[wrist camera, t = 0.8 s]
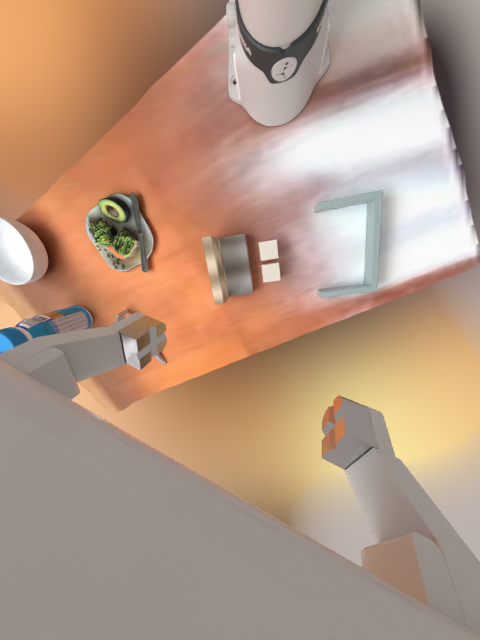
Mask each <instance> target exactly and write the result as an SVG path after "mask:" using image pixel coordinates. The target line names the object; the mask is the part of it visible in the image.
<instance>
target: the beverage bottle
mask: <svg viewBox="0 0 480 640" xmlns="http://www.w3.org/2000/svg"><path fill="white" fill-rule="evenodd" d="M92 324H93V318H92V316H91V314H90V312H89V311H88V310H87V309H85V308H84V307H82V306H72V307H69V308H65V309H61V310H58V311H54V312H50V313H46V314H41V315H37V316H35V317H33V318H29V319H25V320H23V321H21V322H20V323H18V324H17V325H16V326H15V327H9V328H5V329H1V330H0V354H1V353H3V352H5V351H7V350H10V349H12V348H14V347H16V346H19V345H21V344H23V343H25V342H28V341H30V340H32V339H34V338H36V337H41V336H47V335H53V334H60V333H66V332H72V331H79V330H85V329H90V328H91V326H92Z"/></svg>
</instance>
